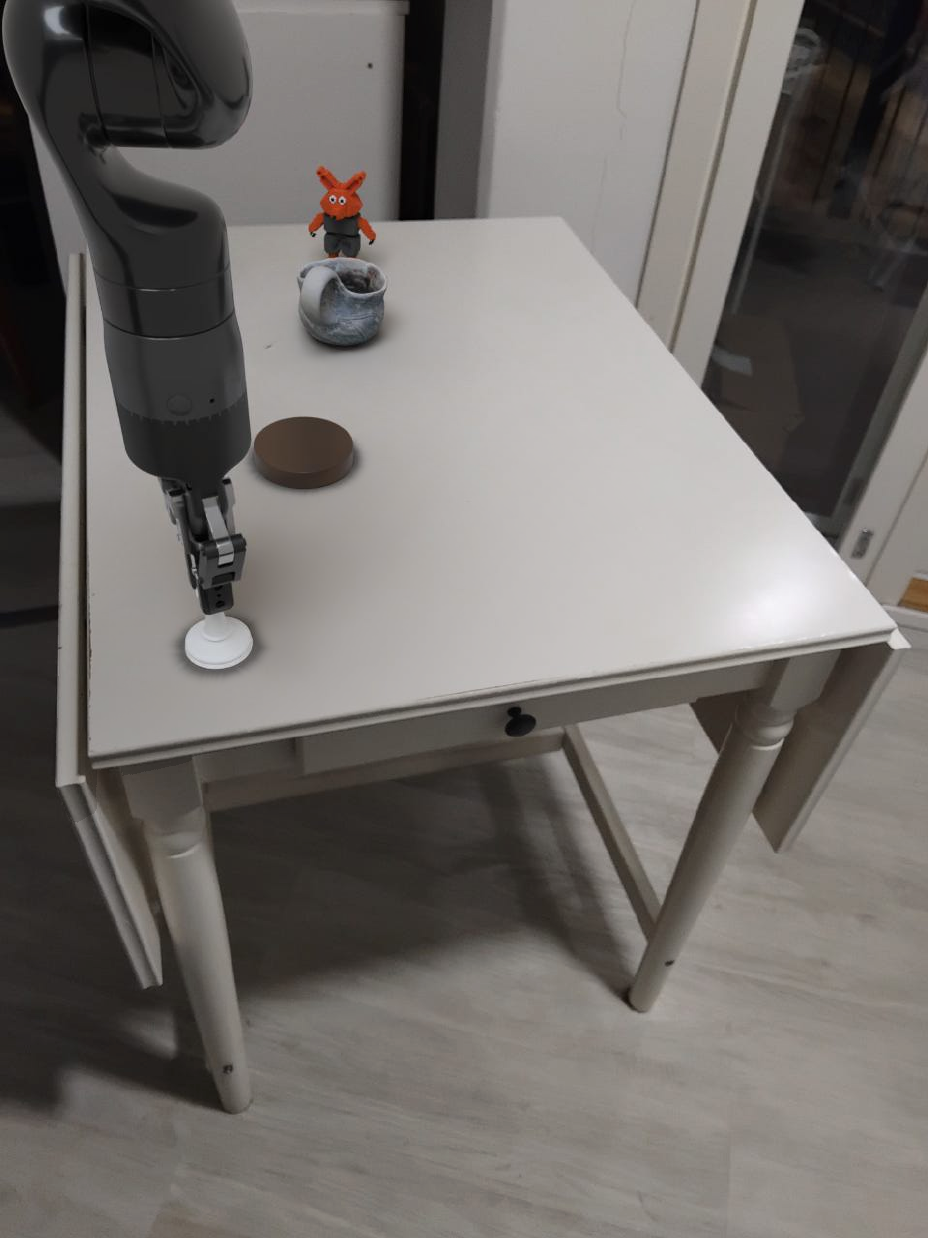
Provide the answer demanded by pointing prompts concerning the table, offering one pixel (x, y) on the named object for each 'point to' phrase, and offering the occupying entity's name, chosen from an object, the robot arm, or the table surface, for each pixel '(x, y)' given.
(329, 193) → the toy animal
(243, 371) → the robot arm
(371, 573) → the table surface
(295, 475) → the walnut chip
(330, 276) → the mug
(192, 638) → the chess piece
